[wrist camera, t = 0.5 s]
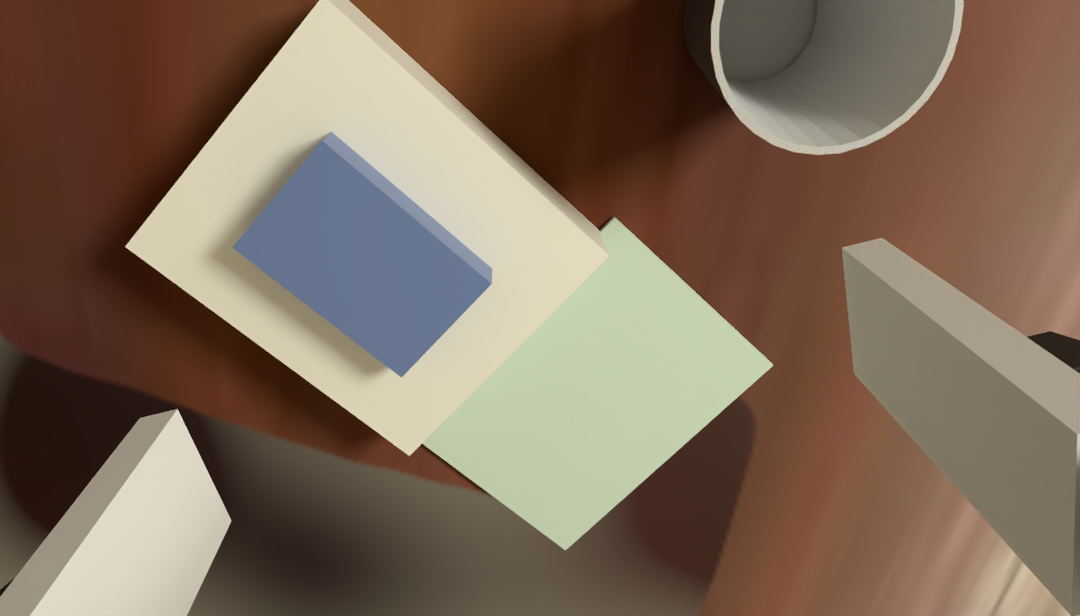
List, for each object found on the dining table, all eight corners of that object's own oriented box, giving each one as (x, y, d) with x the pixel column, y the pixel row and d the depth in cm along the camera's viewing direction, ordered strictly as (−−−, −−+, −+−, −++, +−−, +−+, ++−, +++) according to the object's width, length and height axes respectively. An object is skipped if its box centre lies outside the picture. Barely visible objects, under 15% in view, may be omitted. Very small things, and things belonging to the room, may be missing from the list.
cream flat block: (160, 221, 39) (125, 246, 35) (341, -6, 36) (323, -5, 32) (417, 415, 44) (409, 455, 40) (599, 230, 40) (609, 256, 36)
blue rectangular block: (246, 233, 35) (232, 247, 33) (331, 131, 34) (321, 140, 32) (406, 358, 38) (401, 377, 36) (492, 268, 36) (491, 284, 35)
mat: (405, 427, 44) (404, 430, 44) (614, 216, 40) (614, 217, 40) (564, 547, 47) (565, 550, 47) (771, 362, 43) (773, 365, 43)
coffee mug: (663, 124, 38) (715, 169, 29) (651, -76, 35) (705, -97, 26) (907, 92, 38) (1037, 127, 29) (917, -111, 35) (1067, -144, 26)
